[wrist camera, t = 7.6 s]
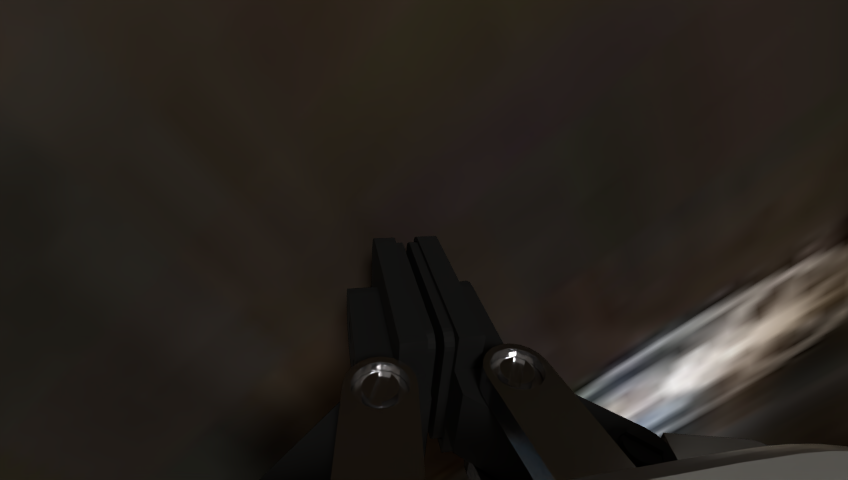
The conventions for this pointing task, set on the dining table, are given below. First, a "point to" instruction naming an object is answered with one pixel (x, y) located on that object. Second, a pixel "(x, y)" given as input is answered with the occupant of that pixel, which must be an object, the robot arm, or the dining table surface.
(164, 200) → the dining table surface
